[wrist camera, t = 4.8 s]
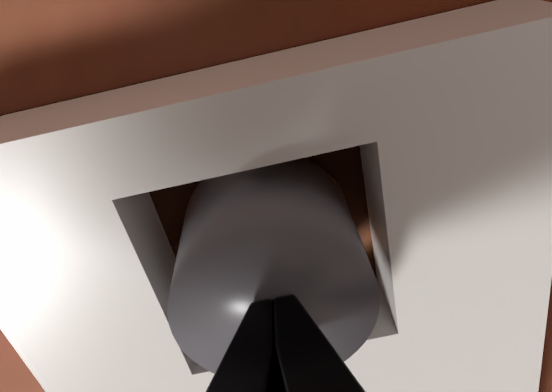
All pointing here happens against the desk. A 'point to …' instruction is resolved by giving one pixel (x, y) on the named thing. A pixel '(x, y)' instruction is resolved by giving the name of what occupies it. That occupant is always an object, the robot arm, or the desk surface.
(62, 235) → the button console
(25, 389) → the desk surface
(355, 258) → the charcoal button
